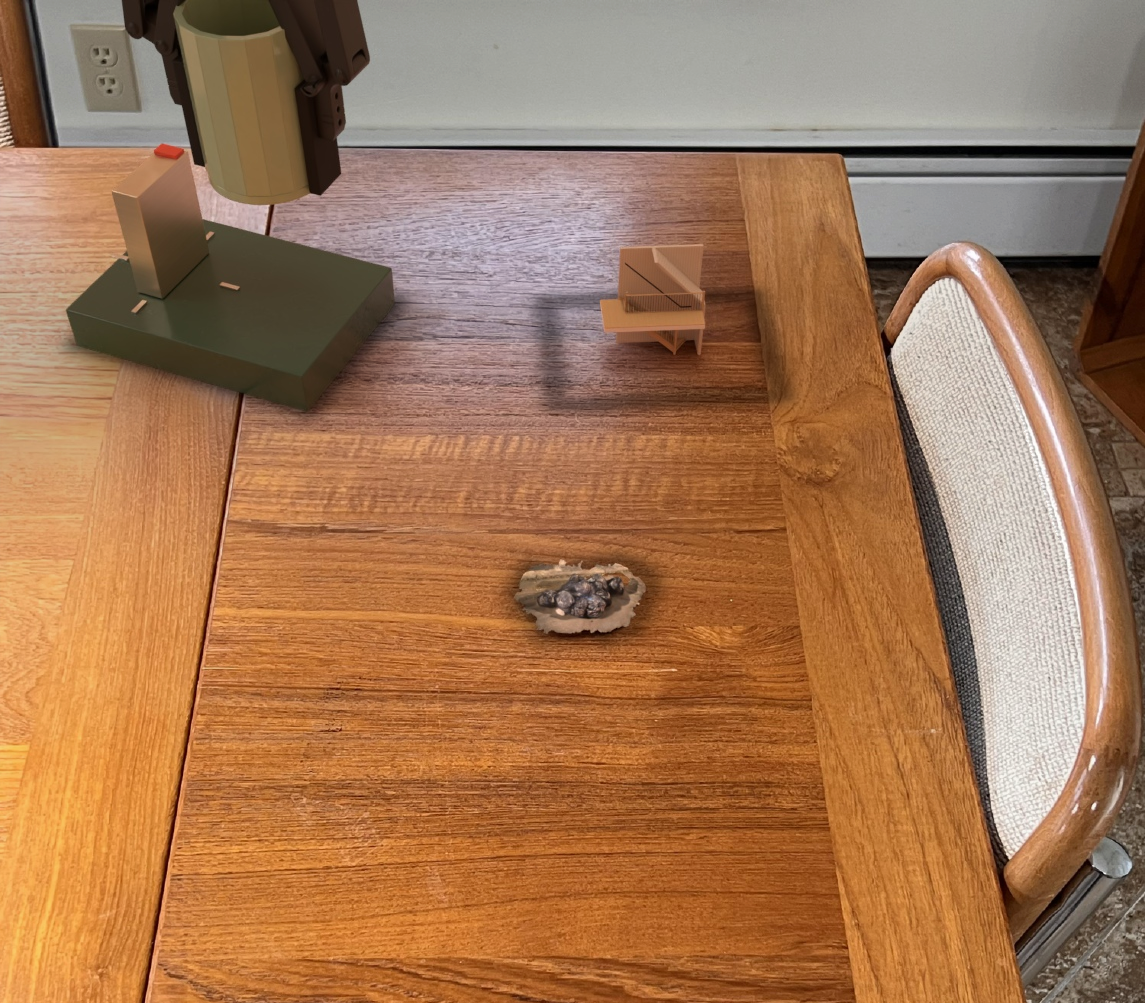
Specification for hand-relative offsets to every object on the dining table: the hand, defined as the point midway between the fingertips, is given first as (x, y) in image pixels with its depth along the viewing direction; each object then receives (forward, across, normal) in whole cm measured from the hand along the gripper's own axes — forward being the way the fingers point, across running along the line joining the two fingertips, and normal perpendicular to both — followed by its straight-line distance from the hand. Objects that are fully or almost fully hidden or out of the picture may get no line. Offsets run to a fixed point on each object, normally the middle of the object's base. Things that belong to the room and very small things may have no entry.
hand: (267, 168), depth 88 cm
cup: (0, 0, 0) cm, 0 cm away
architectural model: (+13, -23, -9) cm, 28 cm away
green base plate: (+13, +5, 0) cm, 14 cm away
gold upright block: (+10, +9, 0) cm, 13 cm away
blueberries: (+13, -27, +15) cm, 34 cm away
